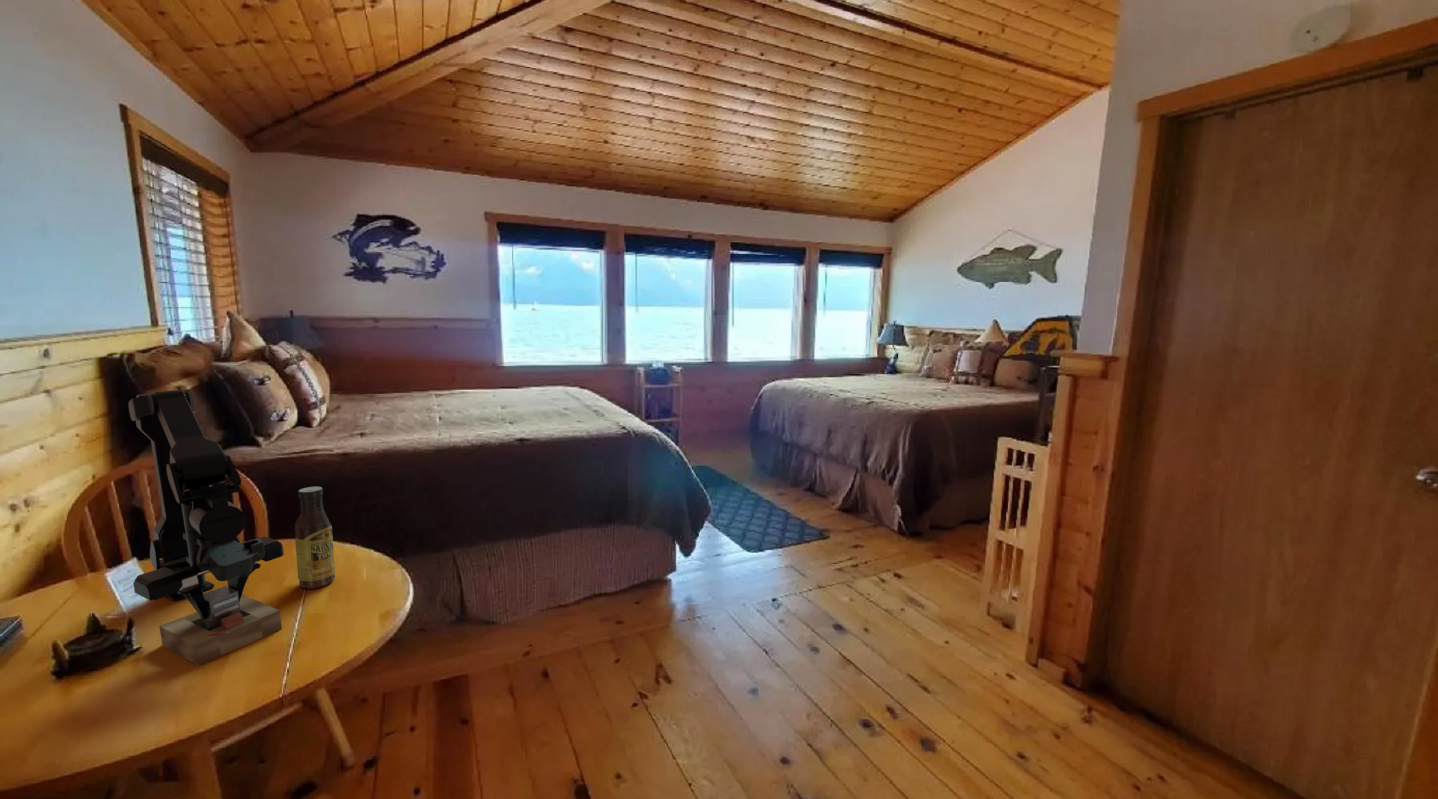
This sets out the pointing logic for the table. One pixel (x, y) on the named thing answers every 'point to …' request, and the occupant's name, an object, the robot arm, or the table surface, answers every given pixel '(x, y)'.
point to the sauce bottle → (313, 541)
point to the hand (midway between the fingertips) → (220, 612)
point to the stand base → (220, 632)
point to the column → (220, 606)
